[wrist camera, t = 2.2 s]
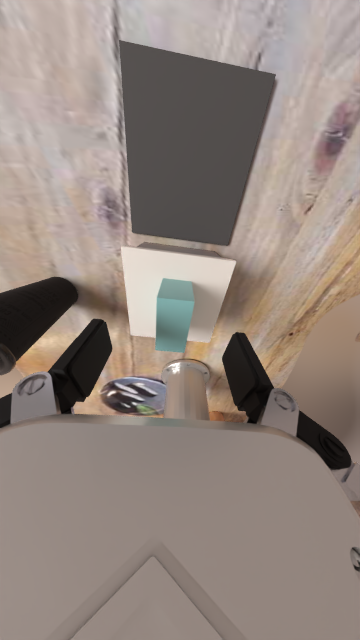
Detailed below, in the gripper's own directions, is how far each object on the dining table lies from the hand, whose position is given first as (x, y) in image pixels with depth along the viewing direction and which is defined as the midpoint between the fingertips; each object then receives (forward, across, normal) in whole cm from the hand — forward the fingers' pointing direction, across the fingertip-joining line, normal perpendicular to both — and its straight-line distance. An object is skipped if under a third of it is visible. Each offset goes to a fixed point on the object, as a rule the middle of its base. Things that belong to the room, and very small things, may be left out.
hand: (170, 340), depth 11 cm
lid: (+8, 0, +1) cm, 8 cm away
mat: (+15, 0, -12) cm, 19 cm away
